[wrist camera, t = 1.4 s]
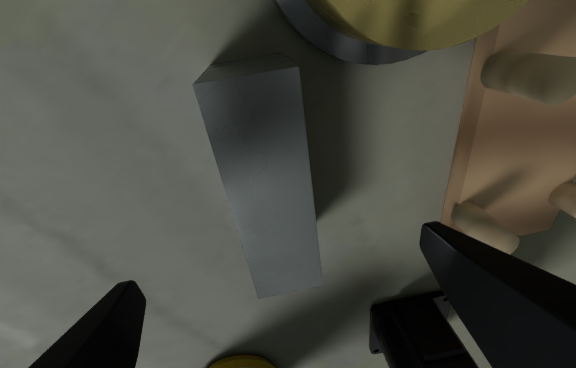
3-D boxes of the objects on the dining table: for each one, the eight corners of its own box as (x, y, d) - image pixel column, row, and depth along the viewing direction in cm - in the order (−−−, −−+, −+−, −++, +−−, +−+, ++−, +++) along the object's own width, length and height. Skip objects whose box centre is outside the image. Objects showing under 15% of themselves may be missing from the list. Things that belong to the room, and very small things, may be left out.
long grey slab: (306, 226, 17) (323, 285, 13) (255, 236, 17) (258, 298, 13) (282, 52, 12) (299, 66, 8) (210, 64, 12) (192, 84, 8)
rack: (539, 217, 19) (607, 262, 16) (432, 239, 19) (475, 289, 15) (646, -34, 12) (816, -57, 8) (476, -6, 12) (577, -19, 8)
